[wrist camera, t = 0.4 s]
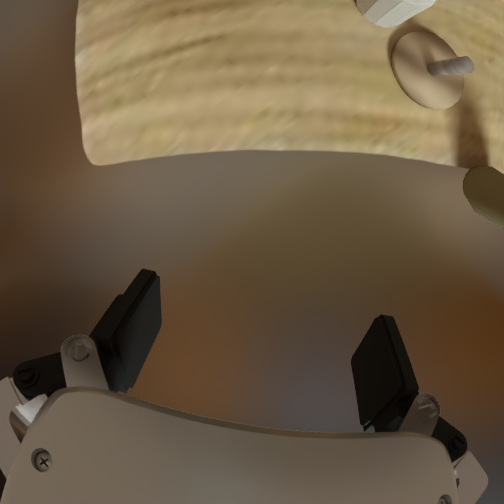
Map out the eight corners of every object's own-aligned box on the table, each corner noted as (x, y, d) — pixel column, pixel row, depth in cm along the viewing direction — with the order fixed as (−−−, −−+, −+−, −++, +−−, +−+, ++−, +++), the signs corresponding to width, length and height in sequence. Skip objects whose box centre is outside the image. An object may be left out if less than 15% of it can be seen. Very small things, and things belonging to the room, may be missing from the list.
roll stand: (393, 21, 24) (424, 1, 15) (460, 51, 24) (500, 45, 14) (387, 94, 30) (422, 92, 21) (455, 119, 29) (497, 128, 20)
